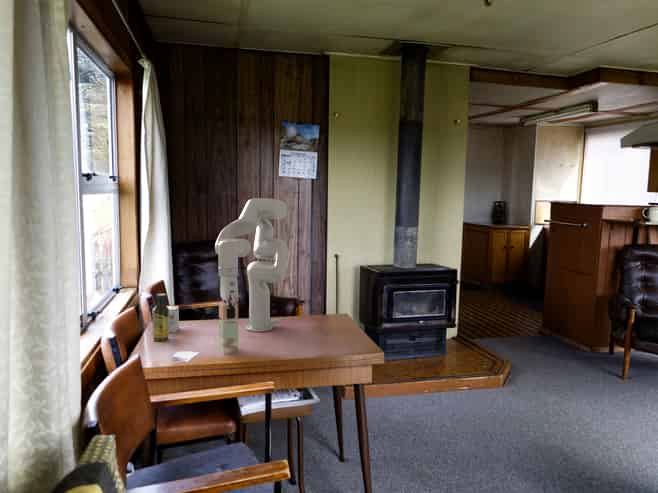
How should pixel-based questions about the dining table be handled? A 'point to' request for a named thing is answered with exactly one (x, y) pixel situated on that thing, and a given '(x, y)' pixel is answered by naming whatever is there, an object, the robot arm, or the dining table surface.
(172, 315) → the light bulb box
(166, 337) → the sauce bottle
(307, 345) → the dining table surface
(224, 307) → the light brown cube
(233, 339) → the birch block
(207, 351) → the dining table surface
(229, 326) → the sage block
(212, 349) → the dining table surface
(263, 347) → the dining table surface
